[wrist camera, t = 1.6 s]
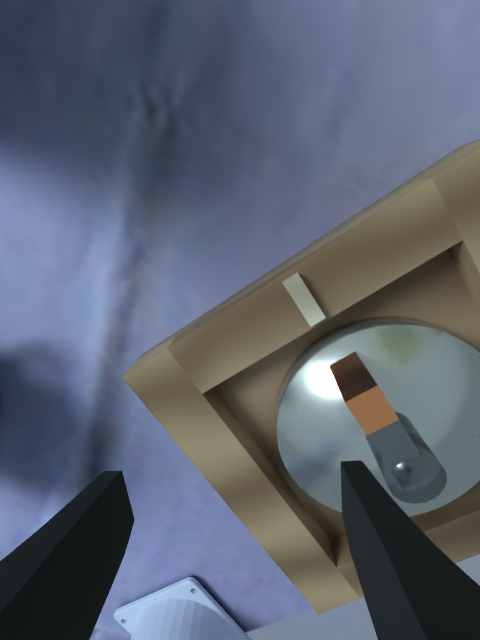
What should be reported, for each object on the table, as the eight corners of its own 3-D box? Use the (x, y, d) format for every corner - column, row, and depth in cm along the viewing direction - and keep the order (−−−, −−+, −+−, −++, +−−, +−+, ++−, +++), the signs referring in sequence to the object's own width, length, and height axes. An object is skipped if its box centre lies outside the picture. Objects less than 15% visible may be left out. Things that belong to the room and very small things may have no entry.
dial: (522, 443, 19) (608, 520, 14) (338, 523, 22) (360, 611, 17) (431, 272, 17) (499, 296, 12) (236, 385, 19) (227, 442, 14)
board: (602, 448, 20) (668, 494, 17) (312, 568, 25) (319, 623, 21) (462, 145, 16) (513, 127, 13) (141, 354, 21) (118, 382, 17)
